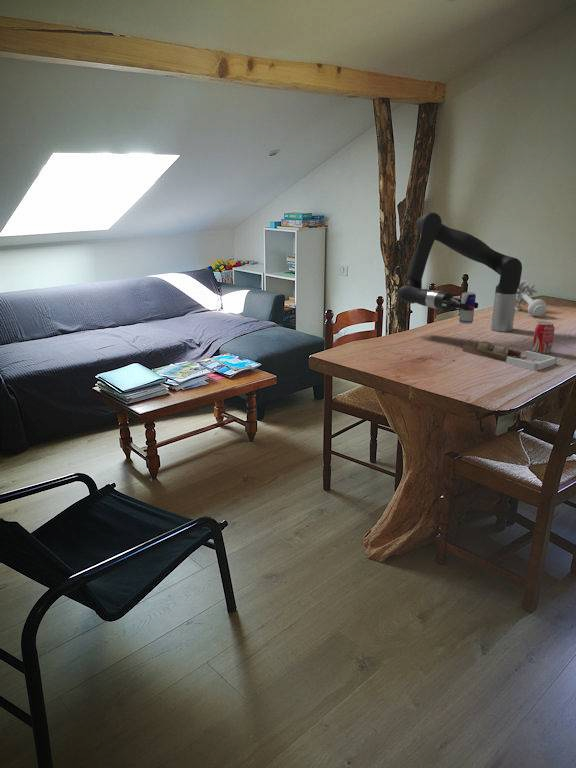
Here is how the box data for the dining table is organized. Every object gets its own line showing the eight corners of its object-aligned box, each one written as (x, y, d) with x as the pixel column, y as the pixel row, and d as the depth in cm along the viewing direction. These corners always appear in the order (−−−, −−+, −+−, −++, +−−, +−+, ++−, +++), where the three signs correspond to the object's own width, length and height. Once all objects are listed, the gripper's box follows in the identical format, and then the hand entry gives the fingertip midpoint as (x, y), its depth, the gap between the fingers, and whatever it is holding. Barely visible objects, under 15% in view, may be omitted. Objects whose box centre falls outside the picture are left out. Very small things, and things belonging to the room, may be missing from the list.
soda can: (534, 349, 230) (538, 320, 226) (552, 351, 227) (557, 322, 223) (529, 352, 225) (534, 323, 221) (548, 355, 221) (553, 325, 217)
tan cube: (482, 350, 228) (484, 341, 227) (491, 352, 225) (492, 343, 224) (477, 352, 226) (478, 342, 225) (485, 354, 223) (486, 344, 222)
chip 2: (498, 354, 223) (499, 344, 222) (507, 356, 220) (508, 346, 219) (492, 356, 221) (493, 346, 220) (501, 358, 218) (502, 348, 217)
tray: (526, 356, 219) (527, 350, 219) (556, 364, 210) (557, 357, 210) (505, 363, 211) (506, 356, 210) (536, 370, 202) (537, 364, 201)
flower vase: (541, 329, 291) (520, 308, 312) (558, 297, 281) (535, 277, 302) (519, 326, 288) (499, 304, 309) (535, 293, 279) (513, 273, 299)
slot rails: (478, 346, 234) (479, 341, 233) (520, 356, 220) (521, 351, 219) (462, 350, 227) (462, 346, 227) (504, 361, 213) (505, 356, 213)
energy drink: (472, 324, 227) (475, 294, 223) (458, 323, 228) (461, 293, 224) (472, 321, 231) (476, 292, 227) (459, 320, 233) (462, 291, 229)
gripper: (428, 293, 233) (463, 299, 220) (450, 289, 241) (484, 295, 229) (427, 310, 235) (461, 318, 223) (448, 306, 244) (482, 313, 231)
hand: (473, 306), depth 226 cm, fingers closed on energy drink, 5 cm apart
